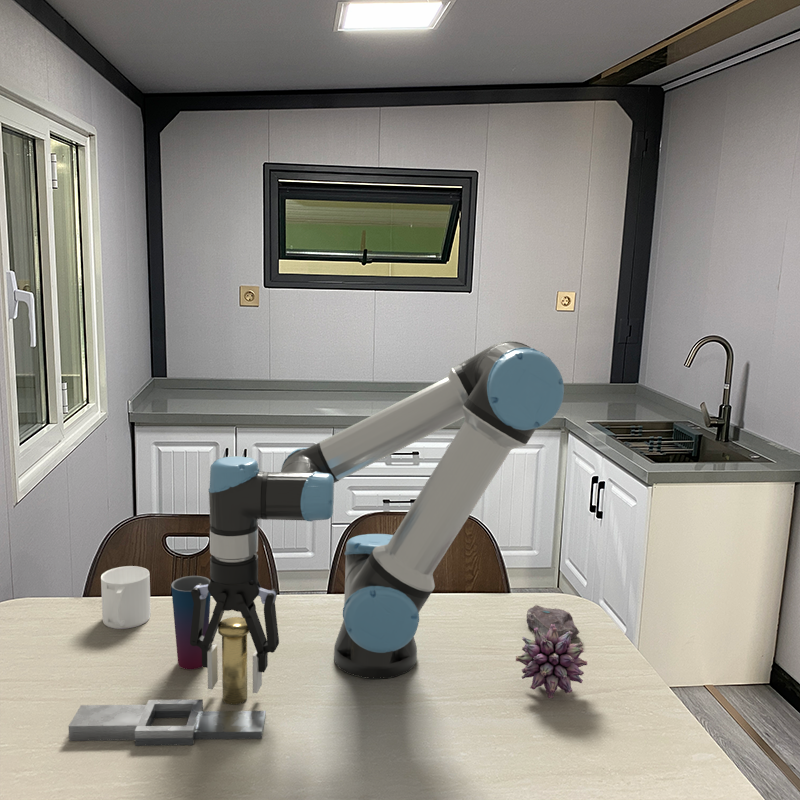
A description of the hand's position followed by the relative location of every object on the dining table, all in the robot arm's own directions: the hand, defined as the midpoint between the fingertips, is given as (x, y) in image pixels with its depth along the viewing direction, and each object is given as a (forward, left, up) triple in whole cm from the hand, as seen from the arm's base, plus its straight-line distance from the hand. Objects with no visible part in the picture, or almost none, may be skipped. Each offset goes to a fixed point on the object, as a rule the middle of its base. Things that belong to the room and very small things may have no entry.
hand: (234, 686), depth 131 cm
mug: (+30, -23, -2) cm, 38 cm away
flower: (-52, -10, -2) cm, 53 cm away
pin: (0, 0, -2) cm, 2 cm away
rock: (-54, -33, -3) cm, 64 cm away
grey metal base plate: (+7, +10, -2) cm, 12 cm away
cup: (+11, -10, -2) cm, 15 cm away
